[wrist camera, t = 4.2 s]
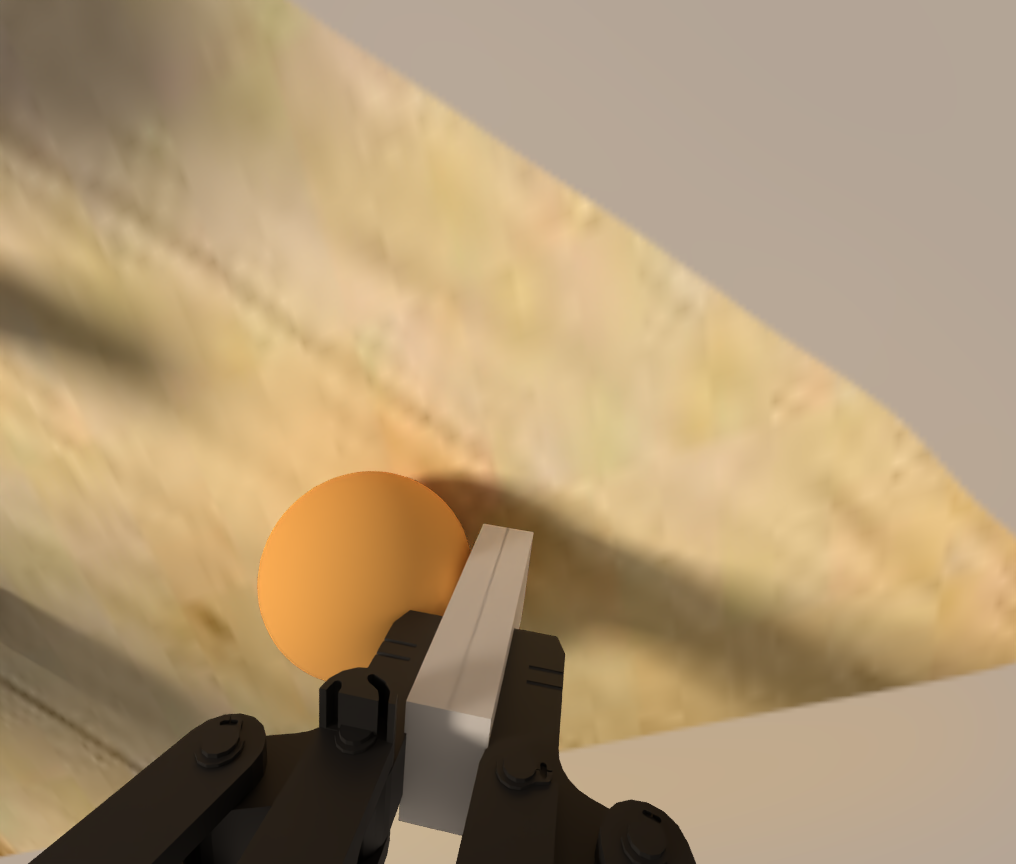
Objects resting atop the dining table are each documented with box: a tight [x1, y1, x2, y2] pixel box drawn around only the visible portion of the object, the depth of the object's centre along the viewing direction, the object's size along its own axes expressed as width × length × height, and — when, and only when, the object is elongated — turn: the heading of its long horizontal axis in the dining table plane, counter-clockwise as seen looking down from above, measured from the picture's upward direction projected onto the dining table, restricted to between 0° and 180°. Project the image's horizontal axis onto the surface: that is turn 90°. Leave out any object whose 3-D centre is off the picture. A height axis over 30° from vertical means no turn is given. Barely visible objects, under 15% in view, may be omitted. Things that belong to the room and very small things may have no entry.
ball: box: [257, 471, 470, 681], centre depth 14 cm, size 6×6×6 cm
